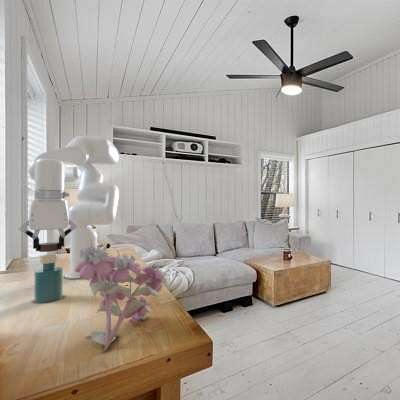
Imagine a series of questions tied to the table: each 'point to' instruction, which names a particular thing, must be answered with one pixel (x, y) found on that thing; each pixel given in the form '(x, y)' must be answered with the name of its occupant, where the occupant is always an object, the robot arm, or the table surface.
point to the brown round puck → (48, 247)
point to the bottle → (48, 280)
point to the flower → (117, 287)
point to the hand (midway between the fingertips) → (49, 249)
